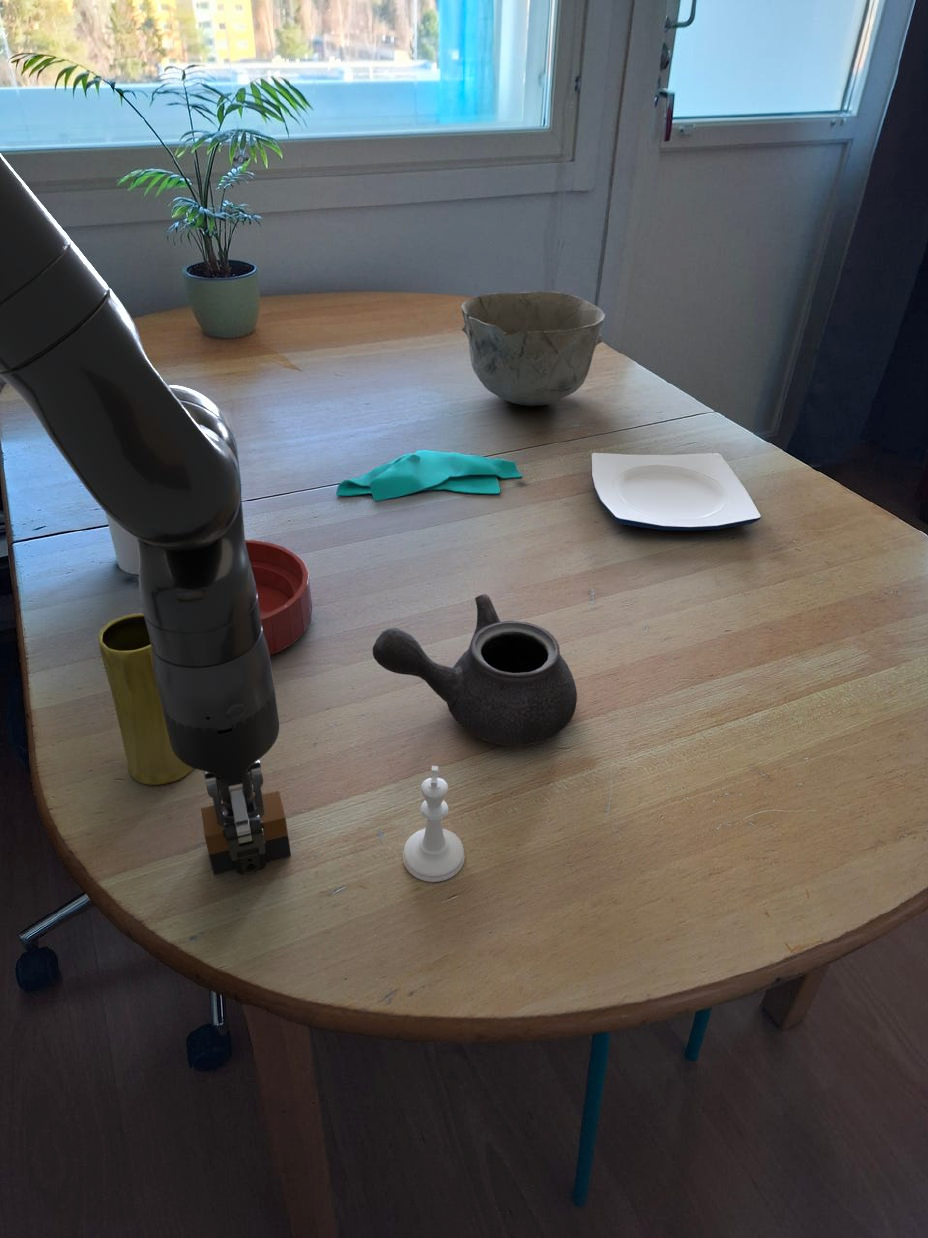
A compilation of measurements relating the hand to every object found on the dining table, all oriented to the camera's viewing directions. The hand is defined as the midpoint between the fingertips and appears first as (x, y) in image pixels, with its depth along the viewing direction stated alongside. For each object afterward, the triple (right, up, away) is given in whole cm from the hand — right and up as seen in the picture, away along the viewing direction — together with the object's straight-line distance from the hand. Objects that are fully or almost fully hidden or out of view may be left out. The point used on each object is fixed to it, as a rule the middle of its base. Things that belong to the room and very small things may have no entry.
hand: (248, 850), depth 69 cm
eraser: (0, 0, 0) cm, 0 cm away
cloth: (+12, +38, +53) cm, 67 cm away
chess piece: (+15, -1, 0) cm, 15 cm away
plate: (+45, +34, +49) cm, 75 cm away
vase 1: (-18, +26, +35) cm, 47 cm away
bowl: (+28, +55, +76) cm, 98 cm away
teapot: (+18, +10, +15) cm, 25 cm away
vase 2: (-9, +6, +8) cm, 13 cm away
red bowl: (-7, +18, +24) cm, 31 cm away
